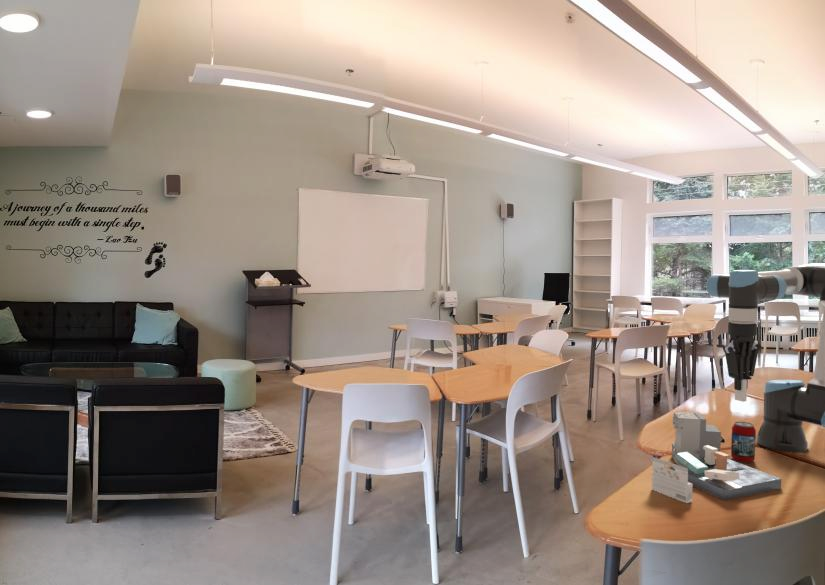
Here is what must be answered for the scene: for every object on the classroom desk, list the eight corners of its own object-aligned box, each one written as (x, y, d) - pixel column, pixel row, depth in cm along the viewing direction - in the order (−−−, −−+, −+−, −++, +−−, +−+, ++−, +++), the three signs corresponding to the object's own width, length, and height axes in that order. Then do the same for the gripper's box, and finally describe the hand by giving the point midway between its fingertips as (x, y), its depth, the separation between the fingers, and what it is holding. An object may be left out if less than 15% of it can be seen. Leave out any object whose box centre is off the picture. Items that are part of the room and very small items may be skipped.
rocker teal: (686, 456, 178) (688, 451, 178) (707, 472, 171) (709, 466, 171) (674, 458, 177) (676, 453, 176) (695, 474, 169) (696, 468, 169)
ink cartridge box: (656, 488, 168) (657, 455, 167) (692, 502, 158) (693, 466, 158) (651, 490, 166) (651, 456, 166) (687, 504, 157) (688, 468, 156)
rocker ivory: (716, 475, 168) (715, 468, 168) (740, 478, 161) (739, 471, 161) (704, 477, 166) (703, 470, 167) (727, 481, 159) (726, 474, 159)
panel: (723, 466, 185) (724, 456, 185) (783, 489, 166) (783, 478, 166) (669, 475, 177) (670, 465, 177) (725, 501, 159) (726, 489, 158)
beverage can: (732, 461, 189) (733, 425, 188) (729, 455, 195) (730, 420, 195) (756, 464, 187) (757, 427, 186) (752, 458, 193) (754, 422, 192)
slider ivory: (707, 461, 180) (708, 445, 179) (717, 465, 176) (718, 448, 176) (702, 461, 179) (703, 445, 179) (712, 465, 176) (713, 449, 175)
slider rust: (718, 467, 174) (719, 451, 174) (729, 472, 171) (729, 455, 170) (713, 468, 173) (714, 452, 173) (723, 472, 170) (724, 456, 170)
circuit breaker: (725, 467, 184) (727, 420, 183) (677, 464, 187) (678, 417, 186) (718, 459, 192) (719, 414, 191) (671, 456, 194) (673, 411, 194)
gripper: (747, 319, 179) (745, 395, 181) (715, 322, 174) (713, 399, 176) (769, 322, 172) (767, 400, 174) (737, 324, 167) (735, 405, 169)
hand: (740, 400), depth 175 cm, fingers closed
